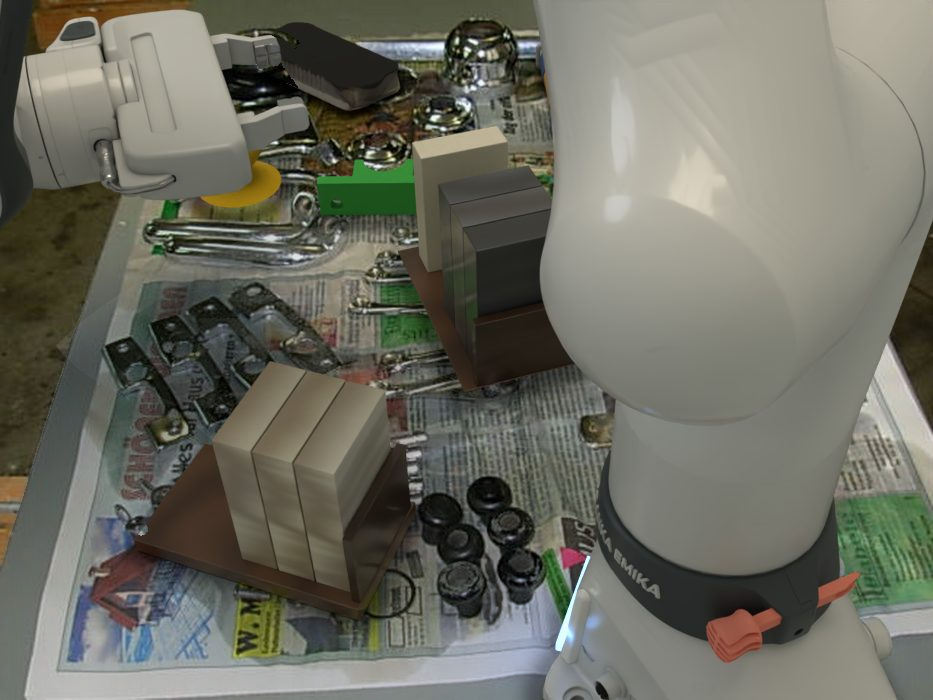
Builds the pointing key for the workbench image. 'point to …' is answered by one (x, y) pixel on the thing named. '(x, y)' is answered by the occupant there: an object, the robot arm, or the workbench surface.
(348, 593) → the stand
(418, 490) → the workbench surface
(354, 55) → the black sponge
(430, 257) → the white book
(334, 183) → the pipe clamp
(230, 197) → the doorknob
